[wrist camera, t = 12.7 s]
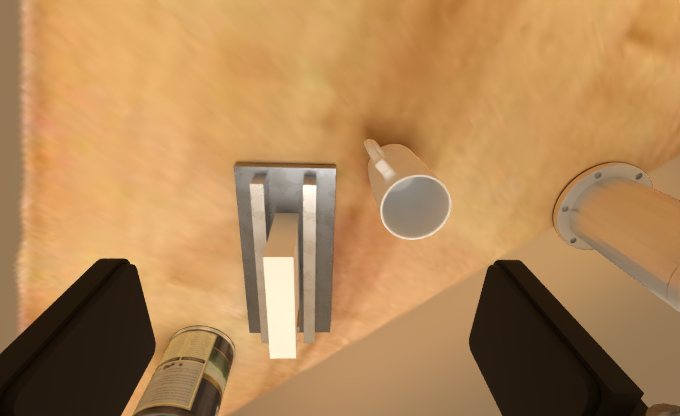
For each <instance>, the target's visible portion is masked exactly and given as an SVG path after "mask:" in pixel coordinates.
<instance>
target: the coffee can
mask: <svg viewBox="0 0 680 416" xmlns="http://www.w3.org/2000/svg"><path fill="white" fill-rule="evenodd" d="M234 357H235V348H234V345H233V343H232V341H231V340H230V339H229V338H228V337H227V336H226V335H225V334H224V333H222V332H220V331H219V330H216V329H213V328H210V327H205V326H191V327H188V328H184V329H182V330H180V331H178V332H177V333H176V334H175V335H174V336H173V337H172V338H171V340H170V342H169V345H168V347H167V349H166V351H165V353H164V355H163V357H162V359H161V361H160V362H159V364H158V366H157V368H156V370H155V372H154V374H153V376H152V378H151V380H150V382H149V384H148V386H147V388H146V390H145V392H144V394H143V395H142V397H141V399H140V401H139V403H138V405H137V407H136V409H135V411H134V413H133V415H132V416H218V412H219V409H220V405H221V401H222V398H223V394H224V390H225V387H226V383H227V380H228V376H229V372H230V369H231V365H232V362H233V360H234Z"/></svg>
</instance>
